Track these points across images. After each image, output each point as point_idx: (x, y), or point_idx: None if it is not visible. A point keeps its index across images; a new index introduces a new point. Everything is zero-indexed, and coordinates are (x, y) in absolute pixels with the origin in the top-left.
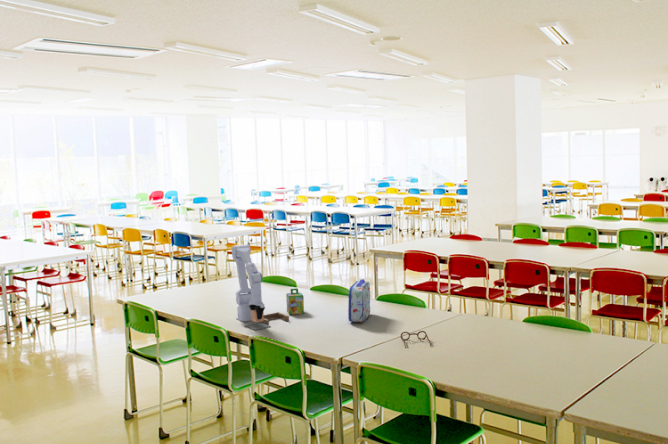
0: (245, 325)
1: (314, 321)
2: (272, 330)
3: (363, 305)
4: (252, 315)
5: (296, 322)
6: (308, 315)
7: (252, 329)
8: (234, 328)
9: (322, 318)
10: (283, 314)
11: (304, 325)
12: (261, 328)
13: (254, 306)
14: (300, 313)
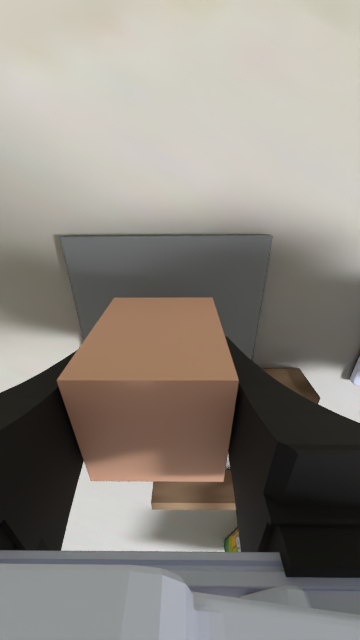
0: (257, 236)
1: (79, 523)
2: (5, 344)
3: None
4: (189, 329)
5: (109, 484)
6: (184, 540)
7: (109, 236)
8: (283, 80)
9: (105, 547)
10: (207, 506)
11: None
12: (77, 304)
13: (252, 496)
14: (229, 538)
